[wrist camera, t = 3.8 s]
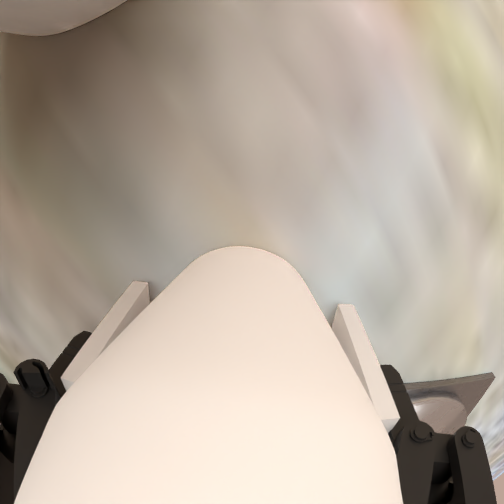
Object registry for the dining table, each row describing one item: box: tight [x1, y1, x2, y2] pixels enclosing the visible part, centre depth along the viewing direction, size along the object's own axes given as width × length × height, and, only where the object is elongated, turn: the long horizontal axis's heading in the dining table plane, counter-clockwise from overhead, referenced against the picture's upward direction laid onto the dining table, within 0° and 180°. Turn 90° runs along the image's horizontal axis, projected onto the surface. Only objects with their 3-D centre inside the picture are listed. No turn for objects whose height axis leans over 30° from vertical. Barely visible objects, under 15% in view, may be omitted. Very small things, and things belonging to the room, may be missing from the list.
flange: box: [403, 373, 495, 435], centre depth 18 cm, size 14×14×2 cm
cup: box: [14, 246, 403, 504], centre depth 9 cm, size 9×9×12 cm
